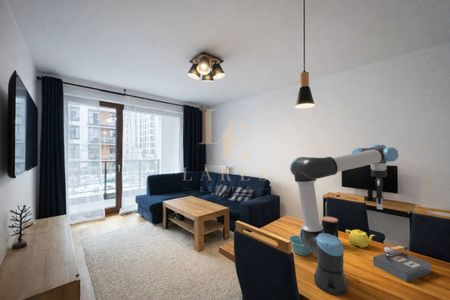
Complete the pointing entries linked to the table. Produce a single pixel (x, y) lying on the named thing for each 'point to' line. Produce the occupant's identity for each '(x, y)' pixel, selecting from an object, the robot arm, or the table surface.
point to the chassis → (402, 265)
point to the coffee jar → (330, 225)
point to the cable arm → (395, 249)
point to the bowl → (298, 246)
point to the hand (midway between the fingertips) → (379, 208)
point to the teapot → (359, 238)
